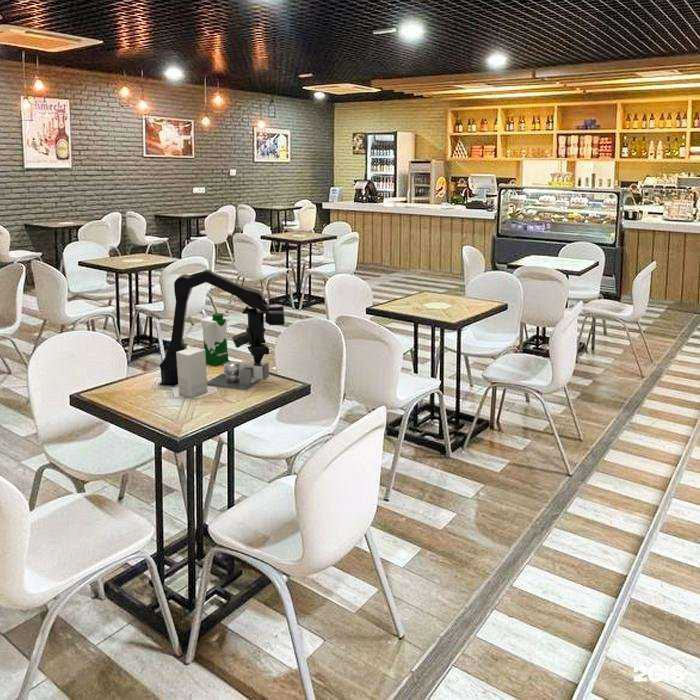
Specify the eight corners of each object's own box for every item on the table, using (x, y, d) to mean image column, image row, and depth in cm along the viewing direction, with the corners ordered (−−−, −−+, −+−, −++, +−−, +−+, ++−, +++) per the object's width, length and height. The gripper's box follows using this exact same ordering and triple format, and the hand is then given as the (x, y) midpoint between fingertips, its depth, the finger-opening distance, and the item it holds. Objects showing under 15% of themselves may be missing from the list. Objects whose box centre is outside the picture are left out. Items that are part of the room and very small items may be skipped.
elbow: (221, 377, 261) (220, 363, 260) (228, 372, 267) (227, 359, 266) (263, 380, 257) (263, 366, 256) (269, 375, 263) (269, 361, 262)
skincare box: (195, 388, 258) (193, 346, 254) (209, 392, 254) (206, 349, 250) (177, 394, 251) (175, 351, 247) (191, 398, 247) (188, 354, 243)
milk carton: (216, 367, 283) (213, 317, 278) (200, 363, 288) (197, 314, 283) (232, 362, 290) (229, 313, 285) (216, 358, 295) (213, 310, 290)
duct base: (205, 385, 261) (204, 368, 259) (222, 376, 272) (221, 359, 270) (246, 390, 256) (245, 372, 254) (261, 380, 267) (260, 363, 265)
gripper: (230, 320, 266) (231, 361, 270) (236, 333, 248) (238, 376, 253) (260, 318, 269) (261, 358, 273) (269, 331, 251) (270, 374, 256)
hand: (257, 366), depth 264 cm, fingers closed
